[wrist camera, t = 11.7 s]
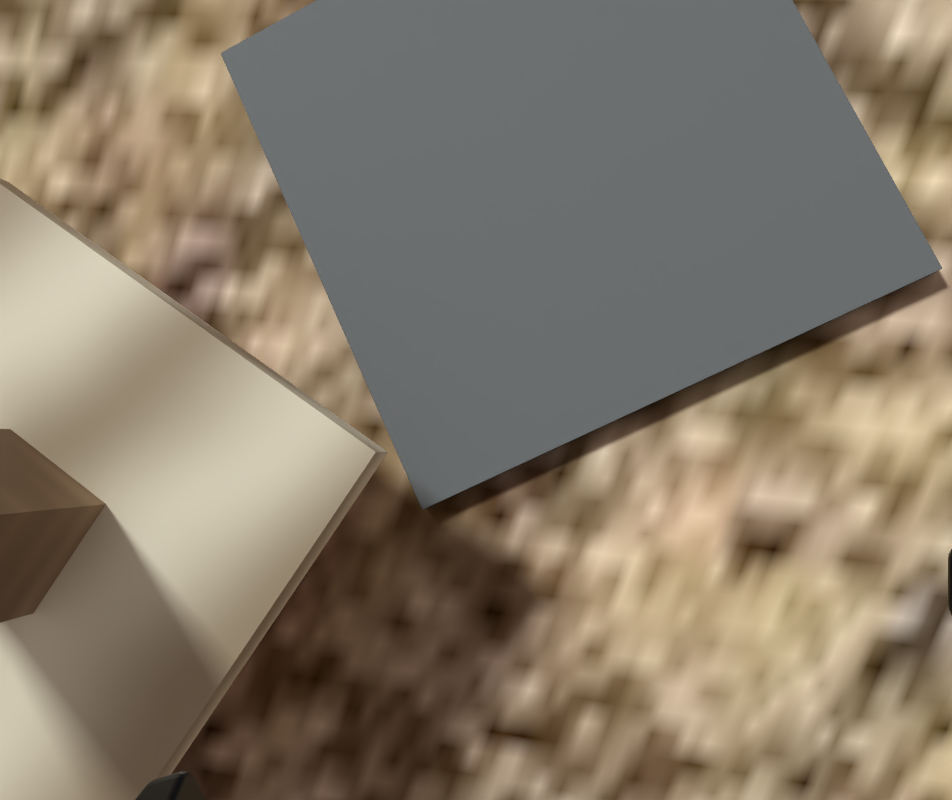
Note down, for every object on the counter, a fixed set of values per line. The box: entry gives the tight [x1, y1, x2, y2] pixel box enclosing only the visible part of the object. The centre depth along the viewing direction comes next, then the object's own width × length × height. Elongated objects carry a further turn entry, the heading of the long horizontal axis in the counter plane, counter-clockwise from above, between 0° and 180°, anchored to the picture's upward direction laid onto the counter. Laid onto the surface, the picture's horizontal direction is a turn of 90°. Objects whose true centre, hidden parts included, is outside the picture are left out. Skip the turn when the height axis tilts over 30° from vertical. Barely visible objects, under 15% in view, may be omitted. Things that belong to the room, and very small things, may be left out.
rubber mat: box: [221, 0, 942, 510], centre depth 22 cm, size 15×15×1 cm
